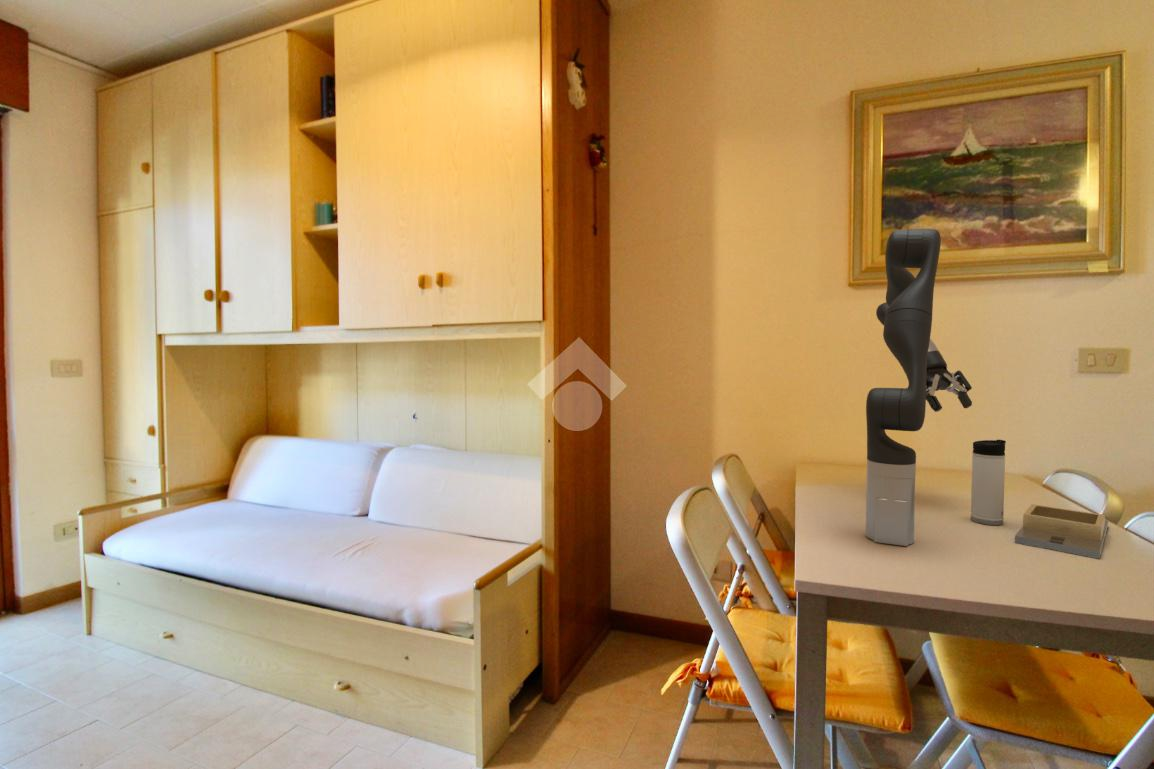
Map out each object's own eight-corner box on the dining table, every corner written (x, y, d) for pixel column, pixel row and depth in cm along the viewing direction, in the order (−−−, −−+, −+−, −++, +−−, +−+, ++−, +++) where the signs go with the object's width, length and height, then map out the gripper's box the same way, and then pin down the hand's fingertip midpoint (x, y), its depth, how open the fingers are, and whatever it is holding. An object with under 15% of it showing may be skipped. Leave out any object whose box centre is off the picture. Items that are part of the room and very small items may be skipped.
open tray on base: (1099, 559, 104) (1100, 536, 103) (1014, 542, 113) (1015, 522, 113) (1107, 526, 124) (1108, 507, 124) (1035, 515, 134) (1035, 497, 133)
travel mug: (1011, 525, 125) (1014, 442, 124) (983, 525, 125) (985, 442, 124) (991, 518, 131) (993, 438, 130) (964, 517, 131) (966, 438, 131)
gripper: (908, 352, 142) (938, 404, 133) (956, 347, 143) (988, 398, 135) (892, 367, 148) (920, 418, 140) (939, 362, 150) (968, 412, 141)
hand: (953, 408), depth 137 cm, fingers open, 8 cm apart
